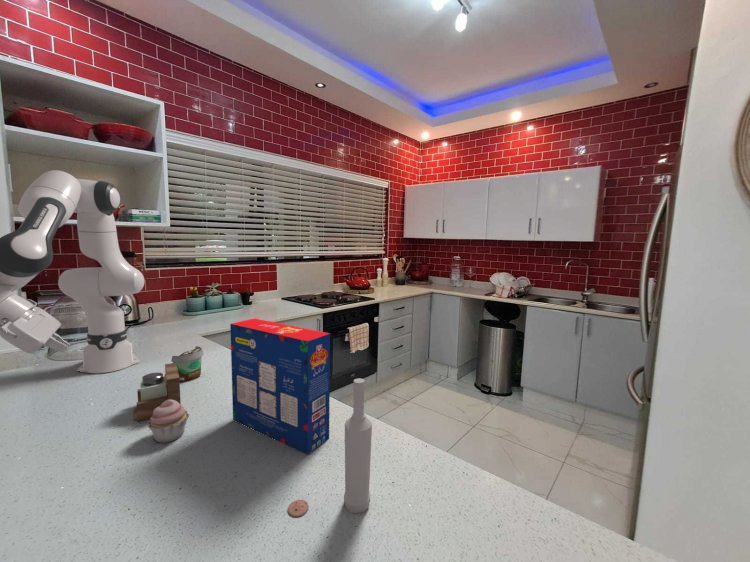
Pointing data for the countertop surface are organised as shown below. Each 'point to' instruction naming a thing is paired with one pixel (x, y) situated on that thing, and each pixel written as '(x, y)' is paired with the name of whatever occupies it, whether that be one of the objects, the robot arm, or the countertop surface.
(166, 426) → the cupcake
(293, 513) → the cookie
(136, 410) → the walnut mount
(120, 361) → the robot arm
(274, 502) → the countertop surface
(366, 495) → the bottle
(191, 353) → the food container
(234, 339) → the pasta box
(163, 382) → the sliding knob
